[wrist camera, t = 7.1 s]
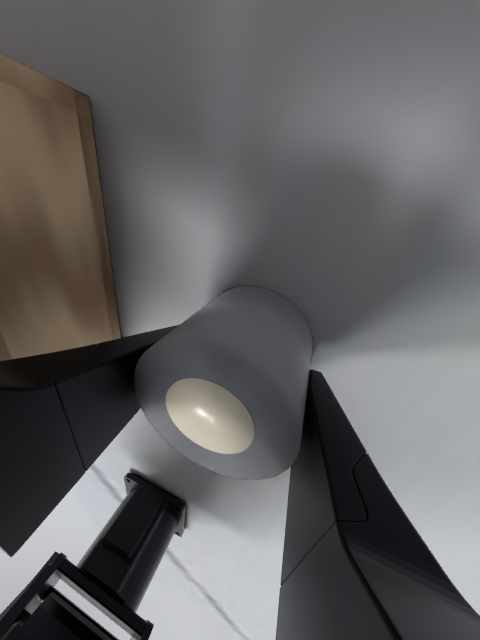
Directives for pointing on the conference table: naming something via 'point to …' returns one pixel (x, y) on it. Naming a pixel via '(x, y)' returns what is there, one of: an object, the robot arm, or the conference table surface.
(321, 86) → the conference table surface
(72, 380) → the robot arm
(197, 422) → the grey cylinder cream end
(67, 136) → the kraft box
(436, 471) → the conference table surface
